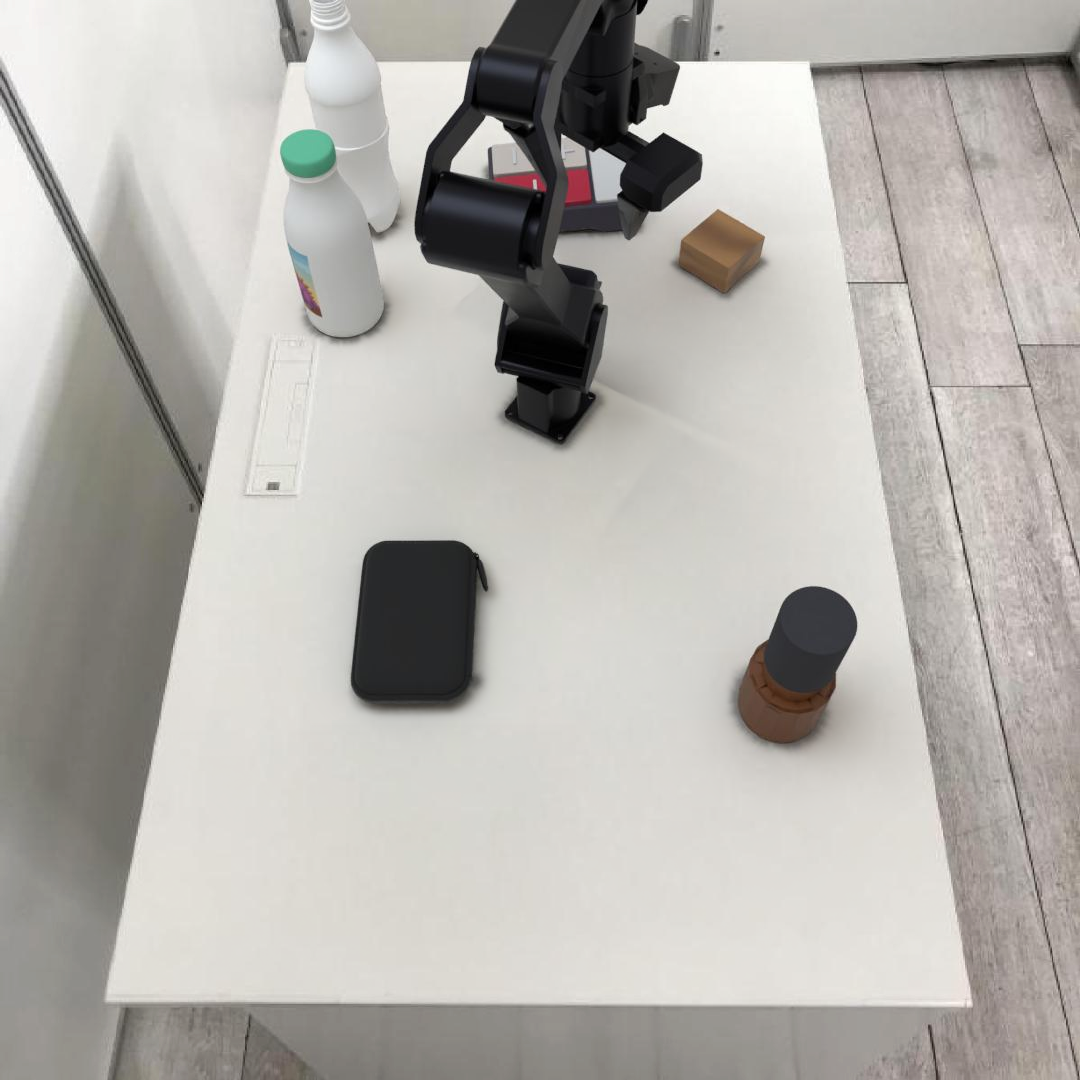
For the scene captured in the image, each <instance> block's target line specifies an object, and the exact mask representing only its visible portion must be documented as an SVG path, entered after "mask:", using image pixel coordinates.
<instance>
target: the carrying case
mask: <svg viewBox="0 0 1080 1080" xmlns="http://www.w3.org/2000/svg"><path fill="white" fill-rule="evenodd" d="M485 569H486V568H485V566H484V563H483V561H482V560H481V559H480V555H479V554H478V553H477V552H475V551H474V550H473V549H472V548H471V547H470V546H468V545H467V544H466V543H464V542H462V541H459V540H456V539H455V540H454V539H447V540H446V539H445V540H444V539H442V540H439V539H438V540H437V539H436V540H431V539H430V540H429V539H428V540H427V539H426V540H424V539H423V540H382V541H379V542H376V543H374V544H373V545H372V546H370V547H369V548H368V549H367V550H366V551H365V553H364V556H363V559H362V566H361V575H360V584H359V594H358V604H357V612H356V623H355V631H354V634H355V635H354V642H353V650H352V651H353V652H352V659H351V660H352V661H351V671H350V686H351V689H352V691H353V692H354V694H355V695H356V697H357V698H358V699H360V700H361V701H363V702H364V703H369V704H449V703H452V702H456V701H457V700H459V699H460V698H462V697H463V696H465V694H466V693H467V692H468V690H469V689H470V686H471V684H472V682H473V679H474V678H473V673H474V671H473V670H474V666H473V665H474V650H475V649H474V648H475V630H476V629H475V628H476V627H475V626H476V609H477V603H476V602H477V586H478V577H479V581H480V583H481V586H482V589H483V591H484V592H485V593H488V591H489V582H488V578H487V577H488V576H487V573H486V570H485Z"/></svg>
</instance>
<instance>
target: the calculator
mask: <svg viewBox="0 0 1080 1080" xmlns="http://www.w3.org/2000/svg"><path fill="white" fill-rule="evenodd" d="M561 155H562V159H563V162H564V165H565V169H566V172H567V176H568V180H569V186H568V191H567V196H566V201H565V205H564V210H563V215H562V220H561V224H560V229H559V232H568V231H579V230H589V229H591V230H592V229H593V230H595V231H599V232H601V233H603V232H613V231H614V232H615V231H623V230H622V225H621V218H620V212H619V206H618V200H617V194H618V193H620V192H621V191H622V189H621V187H620V174H621V172H622V170H623V168H624V167H625V165H626V163H624V162H623V161H621V160H619V159H618V158H616V157H614V156H612V155H611V154H609V153H607V152H606V151H604V150H602V149H601V148H599V149H597V150H596V151H595V152H591V151H590V150H588V149H586V148H585V147H583V146H581V145H579V144H578V143H576V142H574V141H573V140H571V139H569V138H568V137H561ZM487 164H488V167H487V168H488V180H493V181H498V182H503V183H508V184H512V185H517V186H522V187H527V188H531V189H536V190H541V191H545V192H546V187H545V186H544V184H543V182H542V181H541V179H540V178H539V176H538V174H537V173H536V171H535V170H534V168H533V167H532V165H531V164H530V162H529V160H528V159H527V157H526V156H525V155H524V153H523V152H522V150H521V149H520V148H519V146H518V145H517V143H516V142H510V143H509V142H508V143H498V144H492V146H489V147H488V148H487Z"/></svg>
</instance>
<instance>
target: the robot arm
mask: <svg viewBox="0 0 1080 1080" xmlns="http://www.w3.org/2000/svg"><path fill="white" fill-rule="evenodd" d="M648 2H649V0H515V1H514V3H512V6H511V7H510V9H509V11H508V13H507V14H506V16H505V18H504V19H503V21H502V23H501V25H500V26H499V28H498V30H497V31H496V33H495V35H494V37H493V38H492V40H491V42H490V44H489V45H488V46H487V47H484V46H478V47H477V48H476V49H475V51H474V53H473V55H472V58H471V60H470V65H469V68H468V73H467V78H466V82H465V83H466V84H465V89H464V94H463V99H462V102H461V103H460V105H459V106H458V108H457V109H456V110H455V111H454V112H453V114H452V115H451V116H450V117H449V119H448V120H447V121H446V123H445V124H444V125H443V127H442V128H441V129H440V130H439V132H438V133H437V134H436V136H435V137H434V138H433V139H432V140H431V142H430V143H429V145H428V146H427V149H426V152H425V157H424V162H423V169H422V174H421V180H420V186H419V191H418V196H417V197H418V198H417V202H416V207H415V215H414V222H413V223H414V225H413V227H414V237H415V239H416V242H418V244H420V246H419V248H420V252H421V254H422V256H423V258H424V260H425V261H426V263H427V264H430V265H433V266H437V267H442V268H445V269H446V268H447V269H450V270H455V271H459V272H463V273H468V274H472V275H477V276H478V277H479V278H480V279H481V280H482V281H483V282H484V283H485V284H487V285H488V287H489V288H490V289H491V290H492V291H493V292H494V293H495V294H496V295H497V296H498V297H499V298H500V299H501V300H502V306H501V311H500V317H499V323H498V324H499V325H498V330H497V331H498V332H497V336H496V337H497V338H496V353H495V358H494V363H493V366H494V367H495V370H496V372H497V373H498V374H502V375H504V374H507V375H511V376H514V377H517V378H516V396H515V397H514V399H513V400H512V401H511V402H510V404H509V405H508V406H507V407H506V409H505V410H504V417H505V419H507V420H510V421H511V422H513V423H514V424H517V425H518V426H521V427H523V428H525V429H527V430H529V431H532V432H533V433H536V434H537V435H540V436H542V437H544V438H546V439H547V440H550V441H552V442H554V443H556V444H558V445H562V444H564V443H566V441H567V440H568V439H569V437H570V436H571V434H572V433H573V432H574V430H575V429H576V428H577V426H578V425H579V424H580V423H581V421H582V420H583V419H584V417H585V416H586V414H587V413H588V412H589V410H590V409H591V408H592V407H593V405H594V404H595V403H596V400H597V394H596V393H594V392H592V391H590V389H591V386H592V383H593V381H594V378H595V375H596V373H597V370H598V367H599V365H600V362H601V359H602V356H603V350H604V343H605V336H606V331H607V323H608V316H609V306H608V304H604V293H603V292H602V290H601V287H602V284H603V281H601V280H599V278H598V275H597V274H596V273H595V272H594V271H593V270H590V269H587V268H581V267H577V266H573V265H568V264H564V263H558V262H557V261H556V259H555V257H554V255H555V251H556V246H557V244H558V243H557V242H558V238H559V233H560V231H559V229H560V224H561V220H562V215H563V210H564V205H565V201H566V196H567V191H568V186H569V180H568V176H567V172H566V169H565V165H564V162H563V159H562V155H561V138H562V135H563V136H564V137H565V138H567V137H568V138H569V139H571V140H573V141H574V142H576V143H578V144H579V145H581V146H583V147H585V148H586V149H588V150H590V151H591V152H595V151H596V150H597V149H599V148H601V149H602V150H604V151H606V152H607V153H609V154H611V155H612V156H614V157H616V158H618V159H619V160H621V161H623V162H624V163H626V165H625V167H624V168H623V170H622V172H621V174H620V187H621V189H622V191H621V192H620V193H618V194H617V200H618V206H619V212H620V218H621V225H622V230H621V231H622V233H623V236H624V239H625V240H626V241H631V240H632V239H633V238H634V237H636V236H637V234H638V233H639V231H640V229H641V227H642V225H643V224H644V221H645V220H646V218H647V216H648V214H649V213H661V212H662V211H664V210H665V209H666V208H667V207H669V206H670V205H671V204H672V203H674V202H675V201H676V200H678V199H679V198H680V197H681V196H682V195H683V194H685V193H686V192H687V191H688V190H690V189H691V188H692V187H693V186H695V185H696V184H697V183H699V182H700V181H701V178H702V172H703V166H704V162H703V154H702V153H700V152H699V151H697V150H696V149H694V148H692V147H690V146H689V145H687V144H685V143H683V142H681V141H680V140H678V139H677V138H675V137H672V136H671V135H669V134H667V133H666V132H662V133H661V134H659V135H658V136H657V137H655V138H654V139H653V140H652V141H650V142H649V141H647V140H645V139H644V138H642V137H640V136H638V135H637V134H635V133H633V132H631V131H630V130H629V128H630V127H629V126H631V125H632V124H633V125H635V126H639V125H641V123H643V122H644V121H646V120H647V113H648V109H652V108H655V107H659V106H663V107H666V106H668V105H670V102H671V99H672V96H673V94H674V93H673V92H674V89H675V86H676V82H677V80H678V76H679V73H680V70H681V66H680V64H679V63H678V62H677V61H675V60H672V59H671V58H669V57H666V56H665V55H664V54H661V53H659V52H657V51H655V50H653V49H652V48H649V47H647V46H645V45H641V44H638V43H637V42H635V40H636V26H637V25H636V24H637V16H640V15H641V14H642V13H643V11H644V10H645V8H646V6H647V4H648ZM487 117H492V118H494V119H495V120H497V121H499V122H500V123H501V124H502V128H503V130H504V131H505V132H506V133H508V134H509V135H510V136H511V138H512V140H513V141H514V143H517V145H518V146H519V148H520V149H521V150H522V152H523V153H524V155H525V156H526V157H527V159H528V160H529V162H530V164H531V165H532V167H533V168H534V170H535V171H536V173H537V174H538V176H539V178H540V179H541V181H542V182H543V184H544V186H545V187H546V192H545V191H541V190H536V189H531V188H527V187H522V186H517V185H512V184H508V183H503V182H498V181H493V180H489V178H488V179H487V178H483V177H478V176H474V175H469V174H464V173H460V172H455V171H451V168H452V162H453V160H454V159H455V158H456V156H457V155H458V154H459V152H461V150H462V149H463V148H464V146H465V145H466V143H468V141H469V140H470V138H471V137H472V136H473V135H474V134H475V132H476V131H477V130H478V129H479V127H480V126H481V125H482V123H483V122H484V121H485V119H486V118H487Z"/></svg>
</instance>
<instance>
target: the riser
mask: <svg viewBox="0 0 1080 1080" xmlns="http://www.w3.org/2000/svg"><path fill="white" fill-rule="evenodd" d="M765 239H766V236H765V235H764V234H762V233H760V232H758V231H757V230H755V229H754V228H752V227H750V226H748V225H747V224H744V223H743V222H741V221H739V220H738V219H736V218H734V217H733V216H731V215H729V214H727V213H726V212H724V211H722V210H720V209H719V208H717V209H716V210H715V211H714V212H713V213H711V214H710V215H709V216H707V217H706V218H705V219H704V220H703V221H702V222H700V223H699V224H698V225H697V226H695V228H693V229H692V230H690V232H689V233H687V234H686V235H685V236H684V237H683V238H681V240H680V246H679V255H678V263H677V266H678V267H680V268H682V269H683V270H685V271H687V272H688V273H690V274H691V275H693V276H695V277H696V278H698V279H700V280H701V281H703V282H705V283H706V284H708V285H709V286H711V287H713V288H714V289H716V290H717V291H719V292H721V293H722V294H726V293H727V292H728V291H729V290H730V289H731V288H732V287H733V286H734V285H735V284H737V283H738V282H739V281H740V280H741V279H742V278H743V277H745V276H746V275H747V274H748V273H749V272H750V271H751V270H752V269H754V268H755V267H756V266H757V265H758V264H759V263H760V262H761V257H762V254H763V253H762V252H763V247H764V243H765Z"/></svg>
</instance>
